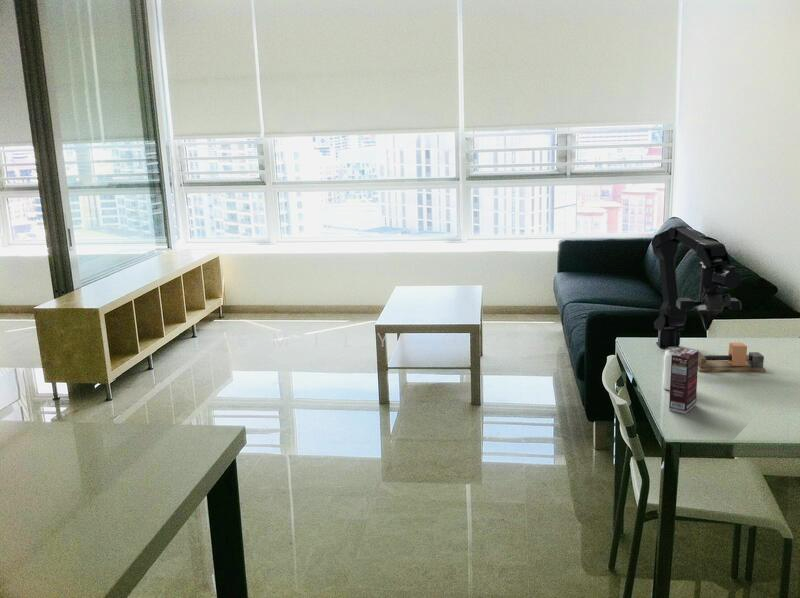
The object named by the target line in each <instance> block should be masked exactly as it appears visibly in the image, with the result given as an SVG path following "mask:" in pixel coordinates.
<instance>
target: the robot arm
mask: <svg viewBox="0 0 800 598" xmlns="http://www.w3.org/2000/svg"><path fill="white" fill-rule="evenodd" d="M681 244H683V245H685V246H686V247H688V248H690V249H691V250H693V251H694V252H695V255H696V258H698V259H699V260H700V262H698V263H697V264H696V266H697V267H699V268H700V269H701V270H700V281H699V282H700V283H699V294H698V300H693V299H692V298H690V297H679V291H678V282H677V273H676V263H675V259H676V256H677V253H678V252H679V246H680V245H681ZM651 247H652V252H653V255H655V257H656V259H657V260H658V262H659V270H660V271H659V273H660V282H661V289H662V291H661V292H662V299H663V301H662V304H661V306H660V307H659V316H658V317H656V320H655V321H653V327H654V329H655V330H657V331H658V332H657V334H658V335H657V341H656V344H657V346H658V347H659V348H660V349H666V348H668V347H680V345H681V344H680V343H681V333H680V330H682V331H683V330H684V327H685V324H686V322H687V317H688V315H687V311H692V310H693V309H694V310H696V311H697V312H698V314H699V316H700V319H701V322H702V324H703V328H704V330H705V331H709V330H710V328H711V326H712V323H713V321H714V319H715V317H716V316H717V315H718V314H719V313H720V314H721V313H722V312H723V310H724V308H725V307H726V308H727V307H728V308H729V309H730V310H731V311H741V310H742V302H741V301H740V300H739V299H737V298H736V297H732V296H731V295H730V293H727V294H722V292H721V291H722V290H721V288H725V289H729V290H733V289H736V288H737V287H738V286H739V285H740V282H741V276H740V273H739V272H738V271H736V266H733V263H732V260H731V258H730V256H729V253H728V251H727V249H726V246H725V245H724V243H722V242H719V241H715V240H711V239H710V240H708V239H706V238H703V237H702V236H700V234H697V233H695V232H693V231H692V230H690V229H688V227H687V226H684V225H676V226H675V225H673V226H671V227H669V228H668V229H667V230H664V231H662V232H659V233H658V234H654V236H653V238H652V239H651Z"/></svg>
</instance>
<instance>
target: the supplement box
mask: <svg viewBox="0 0 800 598" xmlns="http://www.w3.org/2000/svg"><path fill="white" fill-rule="evenodd" d="M698 352H700V351H699V349H691V348H685V347H682V349H680V350H679V351H677V352H676V353H674V354H673V355H672V359H671V381H670V391H669V400H668V401H669V403H668V404H669V405H668V410H669V412H670V411H671V412H674V413H677V414H678V413H679V414H684V415H686V414H687V413H688V412H689V411H691V410H692V409H693V408H694V407H695V406H696V405H697V388H698V372H699V371H698Z"/></svg>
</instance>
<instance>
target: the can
mask: <svg viewBox="0 0 800 598" xmlns="http://www.w3.org/2000/svg"><path fill="white" fill-rule="evenodd" d="M682 348H683V347H681V346H679V347H668V348H665V349H666V350H665V352H664V359H663V377H662V388H663V389H664V388H665V390H666V391H668V390H669V392H670V381H671V359H672V355H673V354H674V353H676V352H677V351H679V350H680V349H682Z"/></svg>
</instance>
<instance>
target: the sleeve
mask: <svg viewBox="0 0 800 598" xmlns="http://www.w3.org/2000/svg"><path fill="white" fill-rule="evenodd" d="M747 353H748V346H747V345H746V344H745V343H744V342H729V343H728V355H732V360H727V361H728V362H729V363H730V364H731V365H732V366H746V355H747Z"/></svg>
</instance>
